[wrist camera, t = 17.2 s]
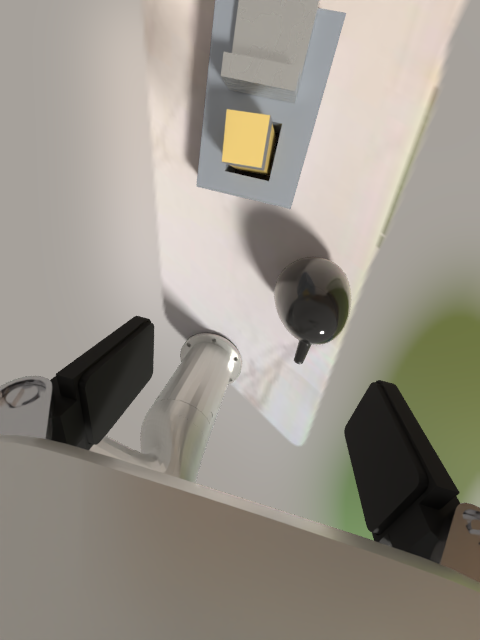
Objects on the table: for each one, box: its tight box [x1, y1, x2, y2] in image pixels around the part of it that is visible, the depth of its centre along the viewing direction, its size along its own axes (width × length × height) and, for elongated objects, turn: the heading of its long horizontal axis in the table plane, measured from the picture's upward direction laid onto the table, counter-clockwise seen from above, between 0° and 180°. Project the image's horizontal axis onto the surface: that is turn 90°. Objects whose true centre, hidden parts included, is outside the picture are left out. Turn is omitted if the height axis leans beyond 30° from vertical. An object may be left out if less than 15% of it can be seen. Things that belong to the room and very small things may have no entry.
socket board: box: [197, 0, 346, 209], centre depth 27 cm, size 16×12×5 cm
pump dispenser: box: [274, 257, 351, 364], centre depth 31 cm, size 10×10×15 cm
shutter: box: [221, 0, 320, 104], centre depth 21 cm, size 7×7×3 cm
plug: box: [222, 109, 277, 176], centre depth 27 cm, size 4×4×10 cm
